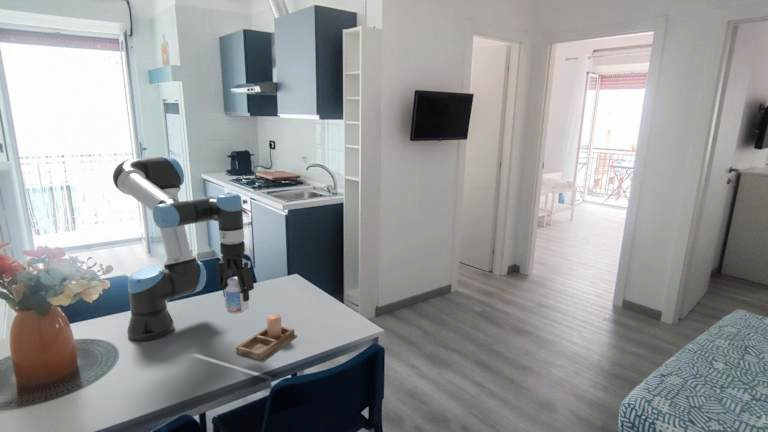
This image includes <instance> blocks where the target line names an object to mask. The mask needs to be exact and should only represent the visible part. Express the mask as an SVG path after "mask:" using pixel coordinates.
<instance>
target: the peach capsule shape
mask: <svg viewBox="0 0 768 432" xmlns="http://www.w3.org/2000/svg"><path fill="white" fill-rule="evenodd" d="M281 326H282V315H281V314H277V313H276V314H275V313H273V314H269V315H268V316H266V328H267V337H268V338H271V339H275V340H277V339H279V338H280V337H282V327H283V326H282V327H281Z"/></svg>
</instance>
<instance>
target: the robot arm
mask: <svg viewBox="0 0 768 432" xmlns="http://www.w3.org/2000/svg"><path fill="white" fill-rule="evenodd" d="M112 175H113V176H112V181H113V184H114V186H115V187H116V189H118V190H119V191H120V193H123V194H125V195H127V196H131V197H132V198H134V199H135V200H136V201H137V202H139V203H140V204H142V205H143V206H144V207H145V208H146V209H148V210H149V211H151V212H152V219H153V221H154V224H155V225H156V226H157V228H159V230H160V235H161V239H162V243H163V248H164V251H165V257H166V260H165V261H164V263H163V267H160V266H152V267H150V266H148V267H146V268H142V269H139V270H137V271H135V272H133V273H131V275H130V276H129V277H128V279H127V292H128V297H129V298H128V299H129V305H130V306H129V308H130V319H129V322H128V323H129V324H128V327H127V337H128V339H130V340H132V341H136V342H146V341H153V340H158V339H160V338H163V337H166V336H168V335H169V334H171V333H172V331H174V328H175V325H174V320H173V317H172V315H171V313H170V312H169V310H168V307H167V306H168V305H167V302H168V301H171V300H174V299H177V298H180V297H184V296H186V295H192V294H195V293H197V292H199V291H201V290H203V288H204V286H205V285H206V282H207V270H206V267H205V266H204V263H203V262H201V261H199V260H197V257H196V256H195V255H193V254H192V253H191V249H190V243H189V240H188V239H189V238H188V236H187V230H186V225H193V224H199V223H204V222H210V221H214V222H218V231H219V232H218V233H219V234H218V235H219V241H220V244H219V246H220V247H219V248H220V249H219V250H220V254H221V255H220V256H218V257H216V258H215V262H216V268H217V269H216V272H217V274H216V276H217V277H216V279H217V286H218V287H221V288H222V290H223V297H224V302H225V303H224V304H225V306H224V307H225V309H227V299H226V287H227V286H228V279H229V278H231V277H233V272H234V273H235V275H236V277H237V278H238V281H239V284H240V287H241V291H242V292H240V302H241V311H242V313H244V312H245V311H247V310H249V301H250V291H252V290H254V289H255V287H254V286H255V285H254V278H253V269H252V266H253V261H252V260H247V259H245V258H246V257H245V255H244V254H245V252H246V247H245V241H244V240H245V231H244V230H245V229H244V216H243V207H244V206H243V203H242V202H243V201H242V196H241V195H240V193H220V194H218V195H217V197H216V196H202V197H201V198H198V199H191V200H185V201H180V199H179V195H178V194H179V193H180V191H181V190H182V189H181V186H183V184H184V182H185V173H184V170H183V167H182V165H181V164H180V162H179V161H178V160H177V159H175V158H174V157H170V156H157V157H142V158H141V157H140V158H137V157H136V158H129V159H126V160H124V161H122V162H121V163H119V164H118V165H117V166H116V168H115V169H114V171H113V174H112ZM243 311H244V312H243Z"/></svg>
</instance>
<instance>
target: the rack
mask: <svg viewBox="0 0 768 432" xmlns="http://www.w3.org/2000/svg"><path fill="white" fill-rule="evenodd" d="M281 327H282V337H280V338H279V339H277V340H275V339H271V338H268V337H267V327H265V328H263V329H262V330H260V331H259V332H258V333H256V334H255V335H253V336H251V337H250V338H248V339H247V340H245V341H243V342H242V343H241V344H239V345H238V346H236V347H235V351H234V353H235V354H239V355H242V356H246V357H249V358H253V359H256V360H259V361H264V360H266V359H267V358H268V357H270V356H271V355H273V354H274V353H275V352H276V351H278V350H279V349H281V348H282V347H283V346H285V345H286V344H288V342H290V341H291V340H293V339H294V338H295V337H297V334H295V329H294V328H289V327H285V326H282V325H281Z"/></svg>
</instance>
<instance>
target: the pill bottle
mask: <svg viewBox="0 0 768 432" xmlns="http://www.w3.org/2000/svg"><path fill="white" fill-rule="evenodd" d="M240 292H242V291H241V287H240V284H239V281H238V278H237V276H232V277H231V278H229V279H228V286H227V287H226V299H227V308H226V310H227V313H229V314H234V315H237V314H241V313H244V312H245V311H243V312H242V311H241V302H240Z"/></svg>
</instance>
